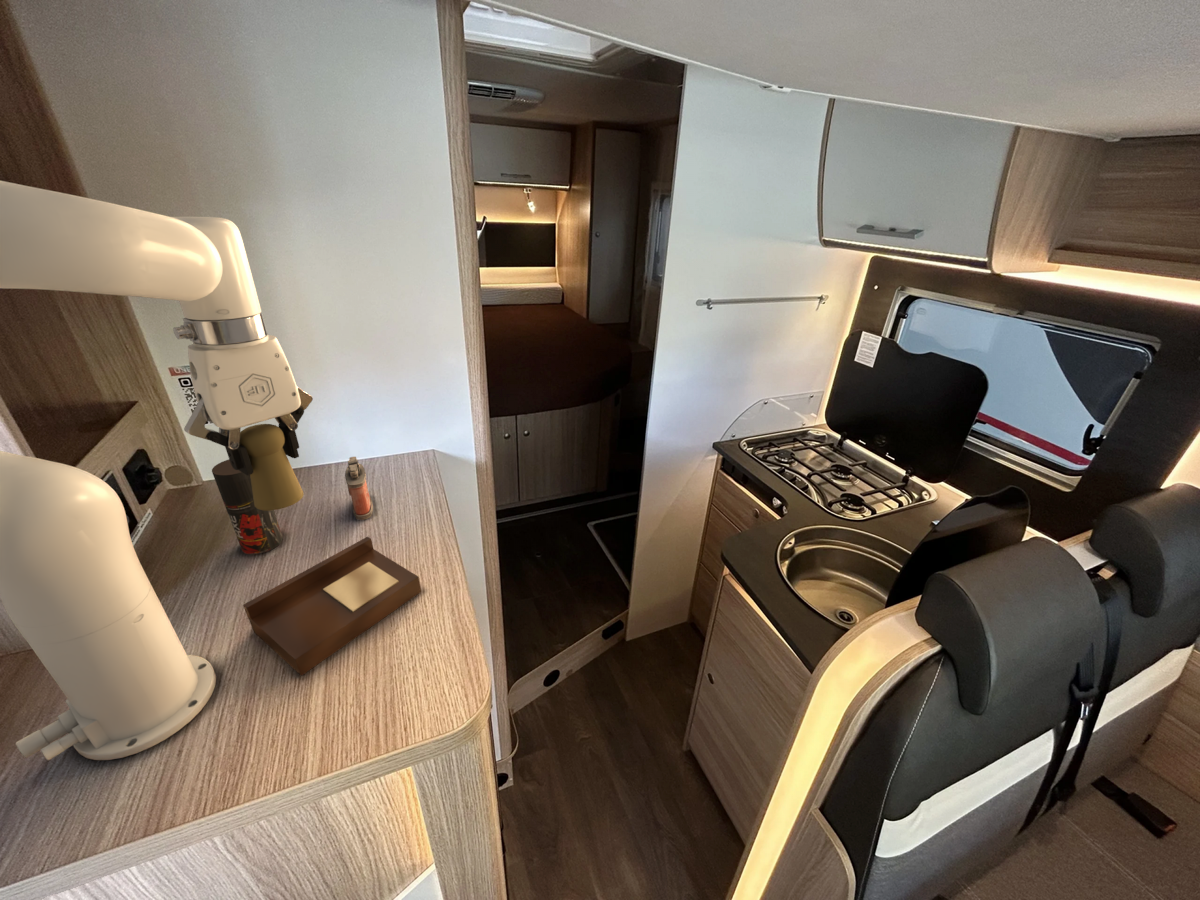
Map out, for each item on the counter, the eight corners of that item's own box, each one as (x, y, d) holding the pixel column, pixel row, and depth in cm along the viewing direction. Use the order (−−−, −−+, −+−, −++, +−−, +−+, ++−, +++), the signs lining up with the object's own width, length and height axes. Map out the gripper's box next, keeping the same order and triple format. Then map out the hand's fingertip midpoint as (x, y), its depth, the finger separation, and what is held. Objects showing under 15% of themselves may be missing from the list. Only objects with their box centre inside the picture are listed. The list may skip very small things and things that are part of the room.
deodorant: (290, 533, 86) (266, 458, 79) (266, 555, 81) (238, 476, 74) (258, 531, 87) (231, 455, 80) (232, 552, 81) (201, 473, 75)
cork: (282, 513, 67) (260, 439, 62) (243, 507, 68) (218, 434, 63) (313, 490, 72) (295, 421, 67) (276, 485, 73) (256, 416, 68)
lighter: (352, 499, 96) (341, 453, 92) (371, 495, 98) (361, 450, 93) (353, 521, 90) (342, 473, 85) (374, 517, 91) (363, 470, 87)
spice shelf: (301, 676, 61) (290, 647, 59) (253, 632, 67) (242, 604, 65) (421, 591, 75) (416, 565, 72) (373, 561, 81) (367, 536, 78)
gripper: (154, 349, 51) (210, 499, 59) (316, 322, 64) (343, 448, 72) (126, 338, 55) (182, 480, 63) (285, 315, 68) (314, 435, 76)
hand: (268, 462), depth 68 cm, fingers closed on cork, 5 cm apart
